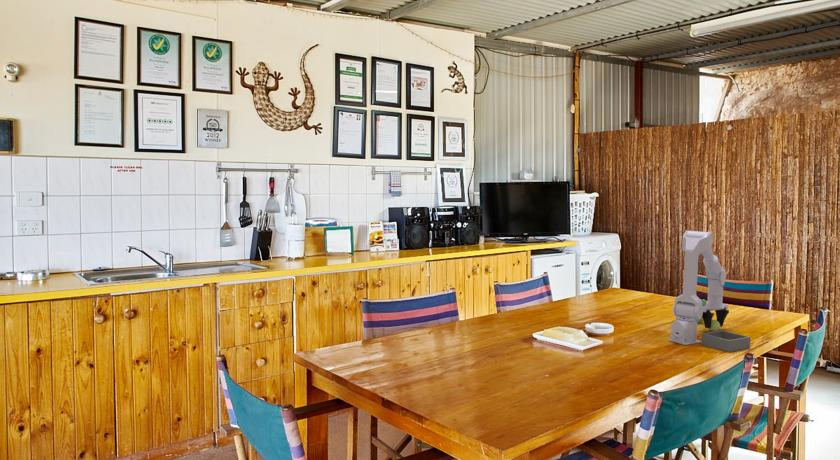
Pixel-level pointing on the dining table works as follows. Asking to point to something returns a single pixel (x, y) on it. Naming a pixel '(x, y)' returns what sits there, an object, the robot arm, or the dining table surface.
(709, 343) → the tub
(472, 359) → the dining table surface
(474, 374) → the dining table surface
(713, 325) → the lime
